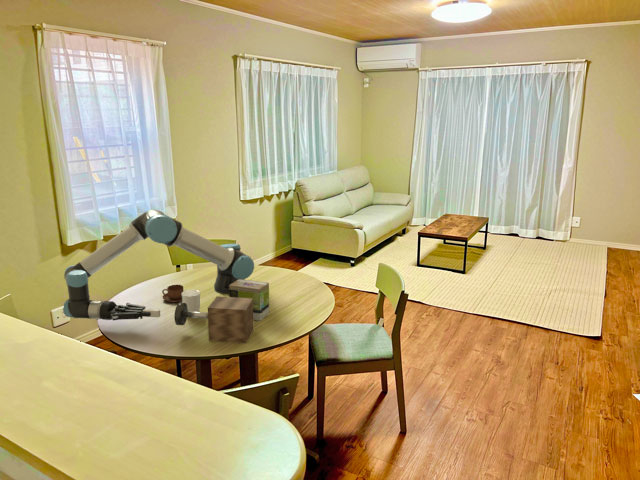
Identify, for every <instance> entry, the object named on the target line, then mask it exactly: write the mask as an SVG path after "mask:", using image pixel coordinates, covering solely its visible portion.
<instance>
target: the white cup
mask: <svg viewBox="0 0 640 480" xmlns="http://www.w3.org/2000/svg"><path fill="white" fill-rule="evenodd" d="M181 303H186V304H187V308H188V311H190V312H201V310H200V309H201V291H200V290H198V289H187V290H185V291H184V290H183V292H182V301H181Z"/></svg>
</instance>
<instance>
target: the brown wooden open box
mask: <svg viewBox="0 0 640 480" xmlns="http://www.w3.org/2000/svg"><path fill="white" fill-rule="evenodd" d="M207 313H208V319H207V328H208V329H207V330H208V341H209V342H218V343H233V344H235V343H236V344H247V343H248V342H249V340H250V338H251V335H252V334H253V332H254V320H253V298H237V297H229V296H216V297H215V298H214V299H213V300H212V302H211V303H210V304H209V305H208V307H207Z"/></svg>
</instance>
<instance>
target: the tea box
mask: <svg viewBox="0 0 640 480" xmlns="http://www.w3.org/2000/svg"><path fill="white" fill-rule="evenodd" d="M228 297H237V298H253V321H259V322H261V321H262V320H263V319H264V318H265V317H267V316H268V315H269V314H268V313H270V282H267V281H260V280H259V281H258V280H252V279H238V280H237V281H235V282H234V283H232V284H230V285H229V293H228Z"/></svg>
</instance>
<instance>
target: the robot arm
mask: <svg viewBox="0 0 640 480" xmlns="http://www.w3.org/2000/svg"><path fill="white" fill-rule="evenodd" d="M147 238H149V239H150V240H151V241H153V242H155V243H157V244H163V245H165V246H166V247H169V248H170V247H173V246H175V247H177V248H180V249H182V250H184V251H186V252H189V253H190V254H192V255H195V256H197V257H200V258H202V259H203V260H206V261H208V262H211V263H212V264H214V265H216V269H217V270H216V272H217V273H216V277H215V282H214V285H213V288H214V289H213V290H214V291H215V292H217V293H221V294H229V285H230V284H232V283H234V282H235V281H237V280H238V279H244V280H247V279H248V278H250V276H252V274H253V273H254V269H255V262H254V260H253V259H252V258H251V256H249V255H248V254H246V253H244V252H243V251H241V249H242V248H241V245H240V244H238V243H225V244H220V245H219V244H217V243H216V242H214V241H212V240H209V239H208V238H206V237H203V236H201V235H199V234H197V233H195V232H193V231H191V230H189V229H186V228H185V227H184V226H183V223H182V222H180V221H179V220H176V219H174V218H172V217H171V216H169V215H167V214H166V213H164V212H163V211H162V210H161V211H160V210H158V209H149V210H147V211H145V212H143V213H142V214H140V215H138V216H137V217H136V218H134V219H133V220H132V221H130V222H129V226H128V227H126V228H125V229H124V230H122V231H121V232H120V233H118V234H117V235H115V236H114V237H112V238H111V239H110V240H108V241H107V242H106V243H104V244H102V246H100V247H99V248H97V249H95V250H94V251H93V252H92V253H90V254H89V255H88V256H86V257H84V258H83V259H82V260H81V261H79V262H78V263H76V264H73V265H69V266H68V267H66V269H65V271H64V275H63V276H64V277H63V278H64V280H65V284H66V286H67V293H68V299H66V301H64V303H63V308H62V312H63V315H64V316H65V317H68V318H74V319H87V320H88V319H89V320H96V321H98V320H104V321H119V320H138V319H140V320H143V317H145V318H160V317H161V309H152V308H146V306H145V305H139V304H133V303H131V302H126V303H125V305H123V304H119V305H118V304H116V302H114V301H113V300H112V301H111V300H110V301H109V300H98V299H97V300H95V299H90V298H91V297H90V287H89V278H90V277H92V276H93V275H94V274H96V273H97V272H98V271H100V270H101V269H102V268H104V267H106V266H107V265H108V264H110V263H111V262H112V261H113V260H115V259H116V258H118V257H119V256H120V255H122V254H123V253H124V252H126V251H127V250H129V249H131V248H132V247H133V246H134V245H135V244H136V243H138V242H140V241H145V240H146V239H147Z"/></svg>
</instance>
